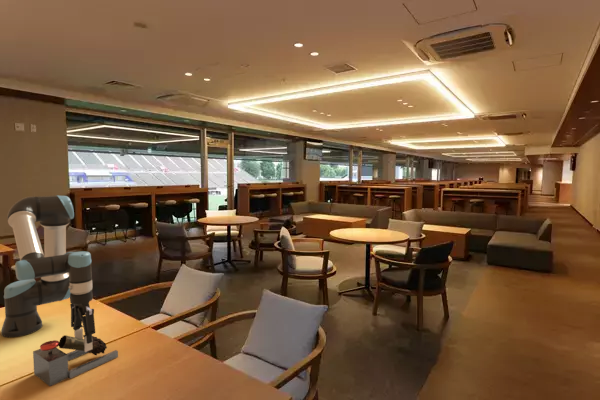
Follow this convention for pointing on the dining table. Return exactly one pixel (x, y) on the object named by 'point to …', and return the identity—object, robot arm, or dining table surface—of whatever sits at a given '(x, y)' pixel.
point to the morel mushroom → (82, 344)
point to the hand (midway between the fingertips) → (83, 347)
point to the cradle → (62, 363)
